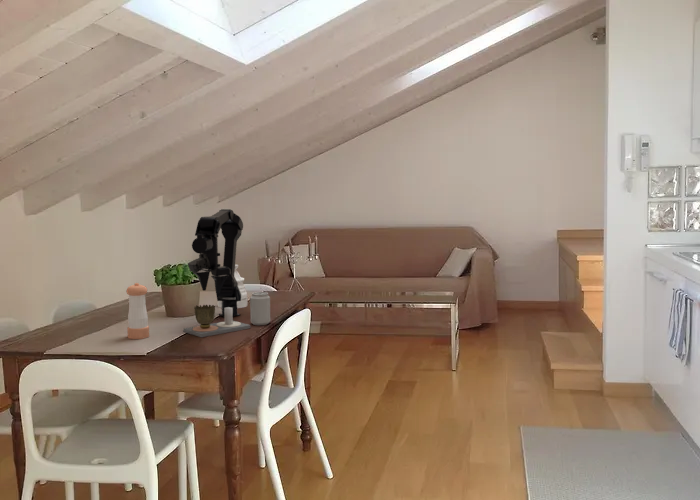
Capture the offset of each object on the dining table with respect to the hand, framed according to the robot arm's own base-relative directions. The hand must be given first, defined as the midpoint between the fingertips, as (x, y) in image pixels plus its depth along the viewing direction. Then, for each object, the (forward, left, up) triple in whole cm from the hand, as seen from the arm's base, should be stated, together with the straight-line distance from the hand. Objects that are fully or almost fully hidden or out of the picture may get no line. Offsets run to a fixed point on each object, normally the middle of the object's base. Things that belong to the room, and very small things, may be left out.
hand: (210, 292), depth 263 cm
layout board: (+7, -2, -13) cm, 15 cm away
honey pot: (-29, +29, -13) cm, 43 cm away
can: (+9, +16, -13) cm, 23 cm away
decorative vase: (+7, -7, -12) cm, 15 cm away
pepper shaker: (-3, -28, -13) cm, 31 cm away
